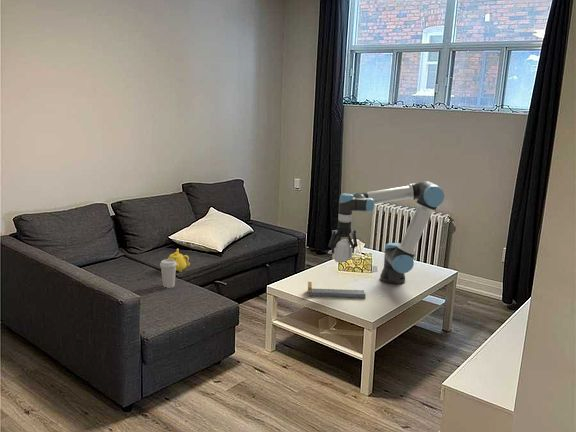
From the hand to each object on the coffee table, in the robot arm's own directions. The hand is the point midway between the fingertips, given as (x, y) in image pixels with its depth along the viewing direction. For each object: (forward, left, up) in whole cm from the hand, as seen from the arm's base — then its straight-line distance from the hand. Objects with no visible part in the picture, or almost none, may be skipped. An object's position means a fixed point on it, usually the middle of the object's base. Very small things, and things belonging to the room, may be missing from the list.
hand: (342, 258), depth 318 cm
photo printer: (0, 0, -1) cm, 1 cm away
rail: (+3, +10, -18) cm, 21 cm away
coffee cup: (+99, +6, -18) cm, 101 cm away
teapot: (+100, -22, -18) cm, 104 cm away
